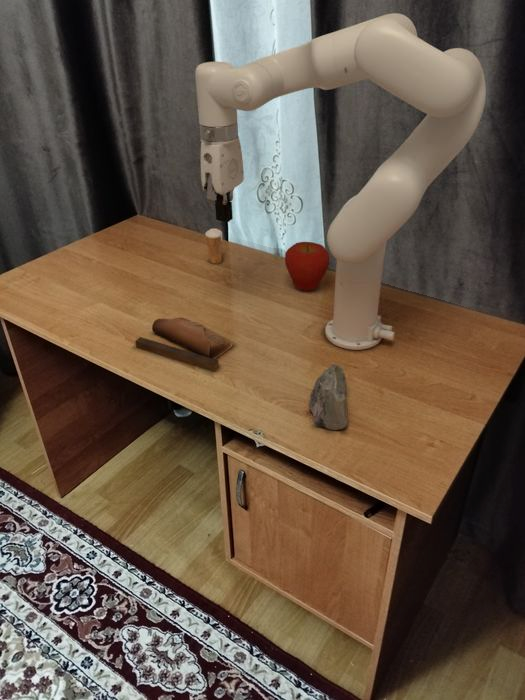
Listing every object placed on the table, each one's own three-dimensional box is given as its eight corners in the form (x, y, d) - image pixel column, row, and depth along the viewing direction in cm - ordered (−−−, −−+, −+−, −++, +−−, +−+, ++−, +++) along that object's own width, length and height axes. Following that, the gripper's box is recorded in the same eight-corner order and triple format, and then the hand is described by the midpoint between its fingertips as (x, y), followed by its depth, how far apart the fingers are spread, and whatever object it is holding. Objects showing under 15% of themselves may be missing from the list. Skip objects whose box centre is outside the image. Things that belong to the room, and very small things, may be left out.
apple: (278, 282, 149) (278, 238, 142) (316, 274, 152) (317, 231, 145) (295, 302, 140) (296, 257, 133) (335, 293, 143) (337, 249, 136)
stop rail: (219, 367, 120) (218, 360, 118) (214, 371, 118) (213, 364, 117) (141, 343, 127) (140, 336, 126) (136, 347, 126) (135, 340, 125)
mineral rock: (329, 379, 115) (332, 338, 109) (376, 401, 110) (381, 359, 104) (289, 413, 107) (290, 370, 102) (337, 439, 102) (340, 395, 96)
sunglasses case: (236, 342, 126) (224, 327, 120) (219, 369, 124) (206, 354, 118) (178, 316, 135) (164, 301, 130) (161, 341, 133) (147, 326, 128)
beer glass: (203, 259, 160) (200, 225, 155) (221, 256, 162) (219, 222, 156) (206, 266, 157) (204, 231, 151) (225, 263, 158) (223, 229, 152)
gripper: (215, 144, 107) (221, 236, 117) (253, 124, 118) (255, 210, 128) (182, 139, 110) (191, 229, 120) (221, 121, 120) (226, 205, 131)
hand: (224, 219), depth 124 cm, fingers closed
